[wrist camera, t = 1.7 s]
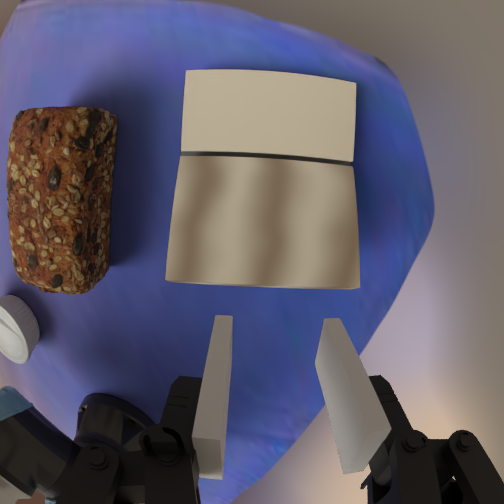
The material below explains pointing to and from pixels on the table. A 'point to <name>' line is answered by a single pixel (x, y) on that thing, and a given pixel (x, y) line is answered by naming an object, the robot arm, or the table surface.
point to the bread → (61, 196)
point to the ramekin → (17, 329)
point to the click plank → (264, 224)
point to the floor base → (268, 116)
